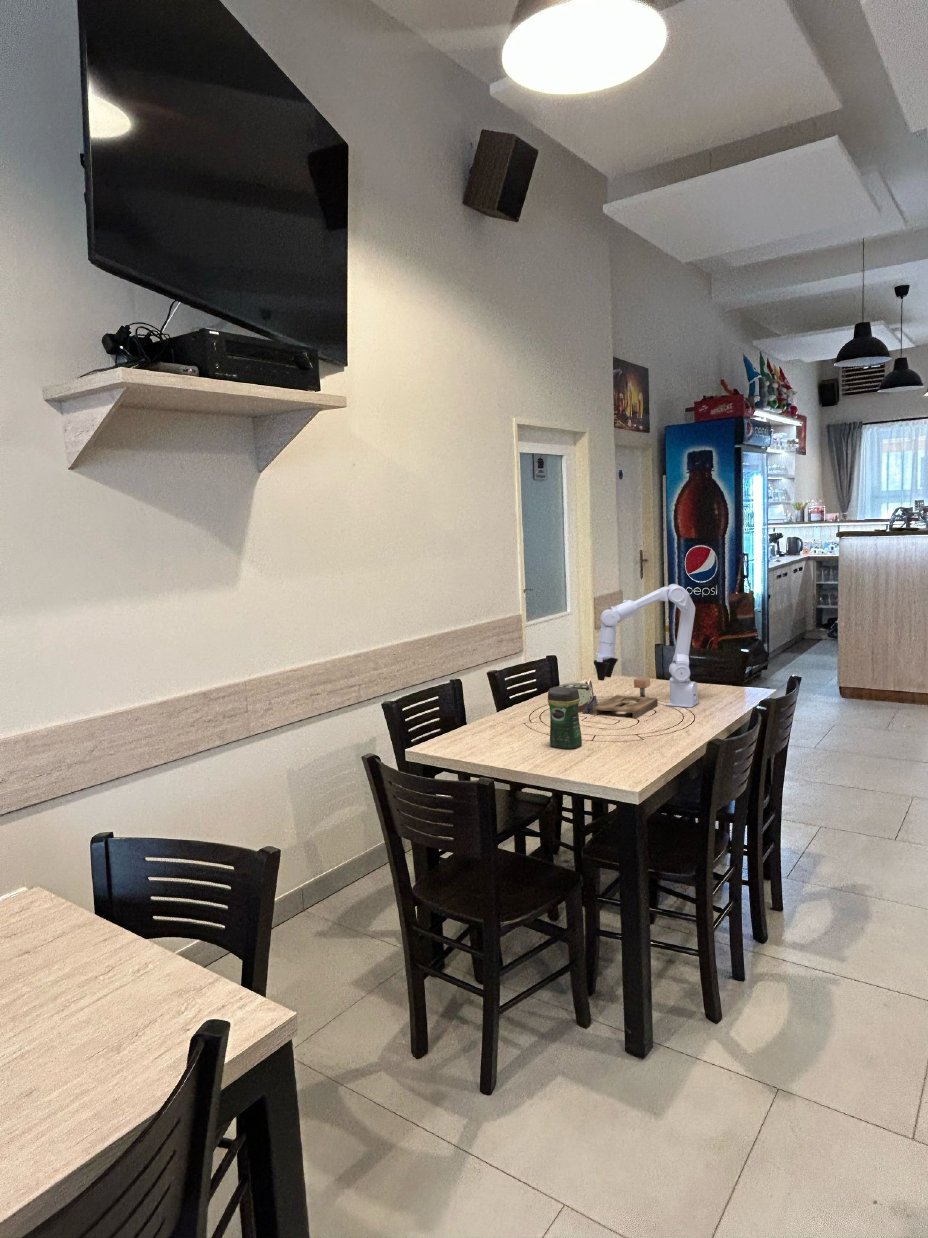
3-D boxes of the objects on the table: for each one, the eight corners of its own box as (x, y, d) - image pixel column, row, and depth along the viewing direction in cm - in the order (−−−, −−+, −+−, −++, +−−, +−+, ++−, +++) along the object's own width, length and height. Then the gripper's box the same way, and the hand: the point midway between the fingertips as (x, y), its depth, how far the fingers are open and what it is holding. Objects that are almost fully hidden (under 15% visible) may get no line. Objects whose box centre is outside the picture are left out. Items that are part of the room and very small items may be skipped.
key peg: (651, 700, 301) (650, 678, 300) (646, 702, 297) (645, 680, 296) (639, 699, 304) (638, 677, 303) (634, 701, 300) (633, 679, 299)
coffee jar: (586, 744, 247) (583, 685, 245) (572, 751, 241) (570, 691, 239) (559, 740, 253) (556, 683, 251) (546, 747, 247) (543, 688, 245)
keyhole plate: (657, 705, 291) (657, 698, 291) (636, 718, 275) (635, 710, 274) (617, 702, 301) (616, 695, 300) (593, 714, 284) (593, 707, 284)
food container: (591, 708, 294) (590, 681, 293) (592, 712, 288) (591, 685, 287) (557, 709, 295) (556, 683, 294) (558, 713, 289) (556, 686, 288)
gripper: (603, 638, 299) (600, 674, 301) (590, 643, 287) (587, 680, 288) (621, 641, 296) (618, 677, 298) (608, 645, 283) (605, 682, 285)
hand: (604, 678), depth 293 cm, fingers open, 7 cm apart
